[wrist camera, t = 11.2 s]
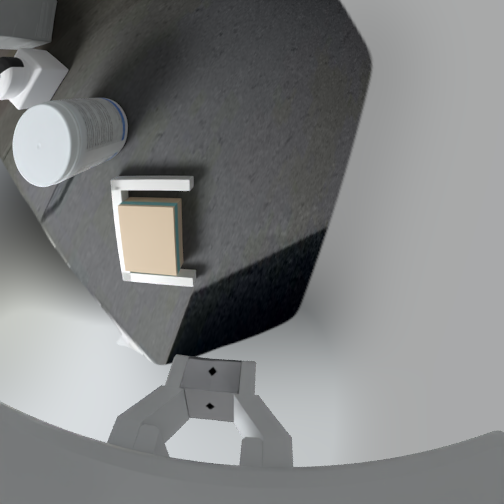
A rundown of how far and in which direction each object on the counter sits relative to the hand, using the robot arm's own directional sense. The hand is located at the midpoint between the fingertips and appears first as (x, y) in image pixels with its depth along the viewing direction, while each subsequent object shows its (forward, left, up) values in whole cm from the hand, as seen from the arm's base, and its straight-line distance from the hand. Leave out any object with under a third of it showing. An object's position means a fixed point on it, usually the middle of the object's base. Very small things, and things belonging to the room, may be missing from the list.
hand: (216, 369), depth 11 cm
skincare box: (-27, -35, -33) cm, 55 cm away
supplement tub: (-7, -22, -33) cm, 40 cm away
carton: (+8, -14, -33) cm, 37 cm away
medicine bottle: (-17, -33, -33) cm, 50 cm away
